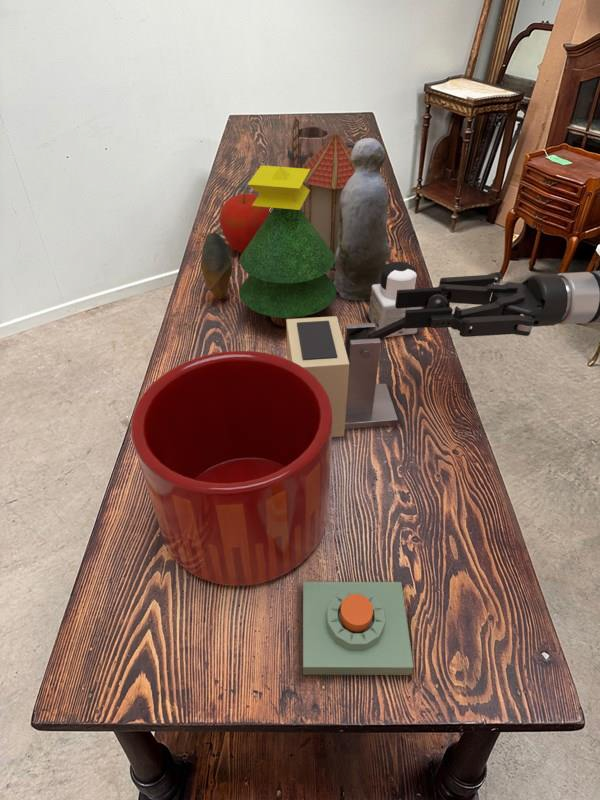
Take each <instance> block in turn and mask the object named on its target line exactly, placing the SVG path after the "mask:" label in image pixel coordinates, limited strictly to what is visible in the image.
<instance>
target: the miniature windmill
mask: <svg viewBox="0 0 600 800" xmlns="http://www.w3.org/2000/svg"><path fill="white" fill-rule="evenodd" d="M293 121H294V122H293V125H292V131H293V160H294V168H298V157H299V129H300V121H299V120H298V117H295V118H294V120H293ZM351 153H352V150H351V149H350V148H348V147H347V146H346V145H345V142H344V141H343V139H342V138H341V136H340V134H339V133H338V132H333V134H331V138H330V139H329V140H328V142H327V143H326V144H325V145H324V146H323V147H322V148H321V149H320V150H319V151H318V152H317V153H316V154H315V155H314V156H313V157H312V155H311V152H310V153H309V155H308V156H307V157H306V158H305V160H304V161H303V163H302V165H301V167H300V168H303V169H310V171H309V172H308V174H307V176H306V178H305V180H304V181H303V183H304V186H305V187H306V188H308V189H309V190H310V191H309V193H308V195H307V197H306V199H305V201H304V215H305V216H306V217H307V219H308V220H309V221H310V223H311V224H312V225H313V227H314V228H315V229H316V231H317V232H318V233H319V235H320V236H321V237H322V239H323V240H324V241H325V243H326V244H327V245H328V247H329V248H330V249H331V251H332V252H333V254H334V256H335V254H336V249H337V243H338V236H337V235H338V229H339V224H340V216H339V214H340V211H339V204H340V196H341V193H342V191H343V189H344V187H345V185H346V183H347V182H348V180H349V179H350V178H351V177H352V175H353V174H354V172H355V167H354V164H353V163H352V162H351ZM335 267H336V266H335V263H334V265H333V267H332V268H331V269H330V270H332V271H333V270H336V269H335Z"/></svg>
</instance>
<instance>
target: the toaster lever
mask: <svg viewBox="0 0 600 800" xmlns="http://www.w3.org/2000/svg"><path fill="white" fill-rule="evenodd" d="M445 307H451V303H449V301H448V299H447V298H446V297H445V296H443V295H440V294H436V295H432V296H430V297H429V298H428V299H427V300H426V302H425V305H424V307H422V309H429V308H445ZM404 319H405V317H404V318H402V319H400V320H398V321H396V322H394V323H392V324H389V325H387V326H385V327H383V328H381V329H379V330H377V331H376V330H375V332H373V333H371V334H369V333H368V331H367V330H366V329H365V330H363V331H361V332H359V333H357V334H355V335H353V336H351V337H350V340H361V339H376V338H380V340H382V339H385V338H387V337H386V336H388V335H390V334H393V333H395V332H397V331H399V330H401V329H403V328H404V326H403V325H404ZM384 337H385V338H384Z"/></svg>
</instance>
